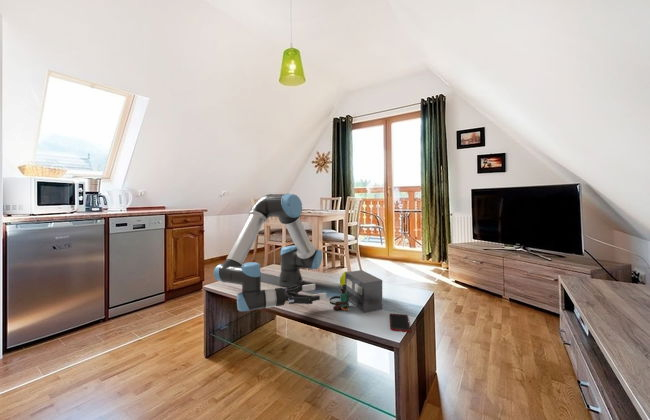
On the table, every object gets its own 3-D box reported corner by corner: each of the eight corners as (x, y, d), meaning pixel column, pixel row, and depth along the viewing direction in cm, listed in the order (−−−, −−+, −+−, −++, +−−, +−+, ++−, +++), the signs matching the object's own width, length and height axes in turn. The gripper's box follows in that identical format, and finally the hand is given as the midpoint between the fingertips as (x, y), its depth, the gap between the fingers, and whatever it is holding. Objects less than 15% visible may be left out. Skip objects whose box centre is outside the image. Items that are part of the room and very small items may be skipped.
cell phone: (390, 331, 104) (390, 329, 104) (389, 315, 118) (389, 313, 118) (410, 333, 102) (410, 331, 102) (407, 316, 117) (407, 314, 116)
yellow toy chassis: (368, 287, 155) (368, 273, 155) (366, 290, 150) (366, 276, 149) (342, 284, 161) (342, 270, 161) (339, 286, 156) (339, 273, 156)
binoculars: (329, 284, 131) (349, 283, 129) (331, 305, 131) (351, 304, 129) (326, 290, 122) (347, 289, 120) (328, 312, 122) (349, 312, 120)
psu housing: (344, 298, 137) (344, 272, 137) (361, 295, 141) (361, 270, 141) (363, 312, 120) (363, 282, 119) (382, 309, 124) (382, 280, 123)
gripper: (269, 296, 125) (311, 290, 133) (281, 317, 102) (330, 309, 110) (269, 280, 124) (311, 276, 133) (281, 298, 101) (330, 291, 110)
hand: (320, 291), depth 121 cm, fingers open, 13 cm apart
